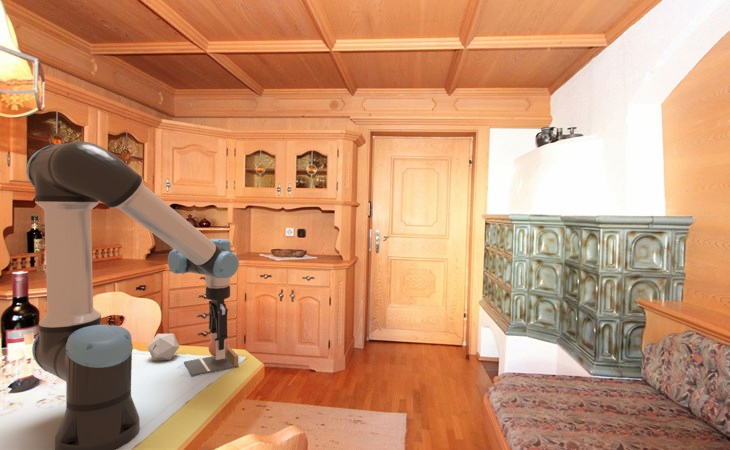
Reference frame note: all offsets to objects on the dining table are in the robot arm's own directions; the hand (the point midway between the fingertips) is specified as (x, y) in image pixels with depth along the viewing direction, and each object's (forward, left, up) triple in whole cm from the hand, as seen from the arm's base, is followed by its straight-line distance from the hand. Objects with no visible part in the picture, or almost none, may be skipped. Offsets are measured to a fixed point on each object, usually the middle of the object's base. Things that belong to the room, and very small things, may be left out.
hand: (217, 355), depth 125 cm
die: (-14, +14, -3) cm, 20 cm away
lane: (-2, 0, -3) cm, 3 cm away
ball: (0, 0, 0) cm, 0 cm away
